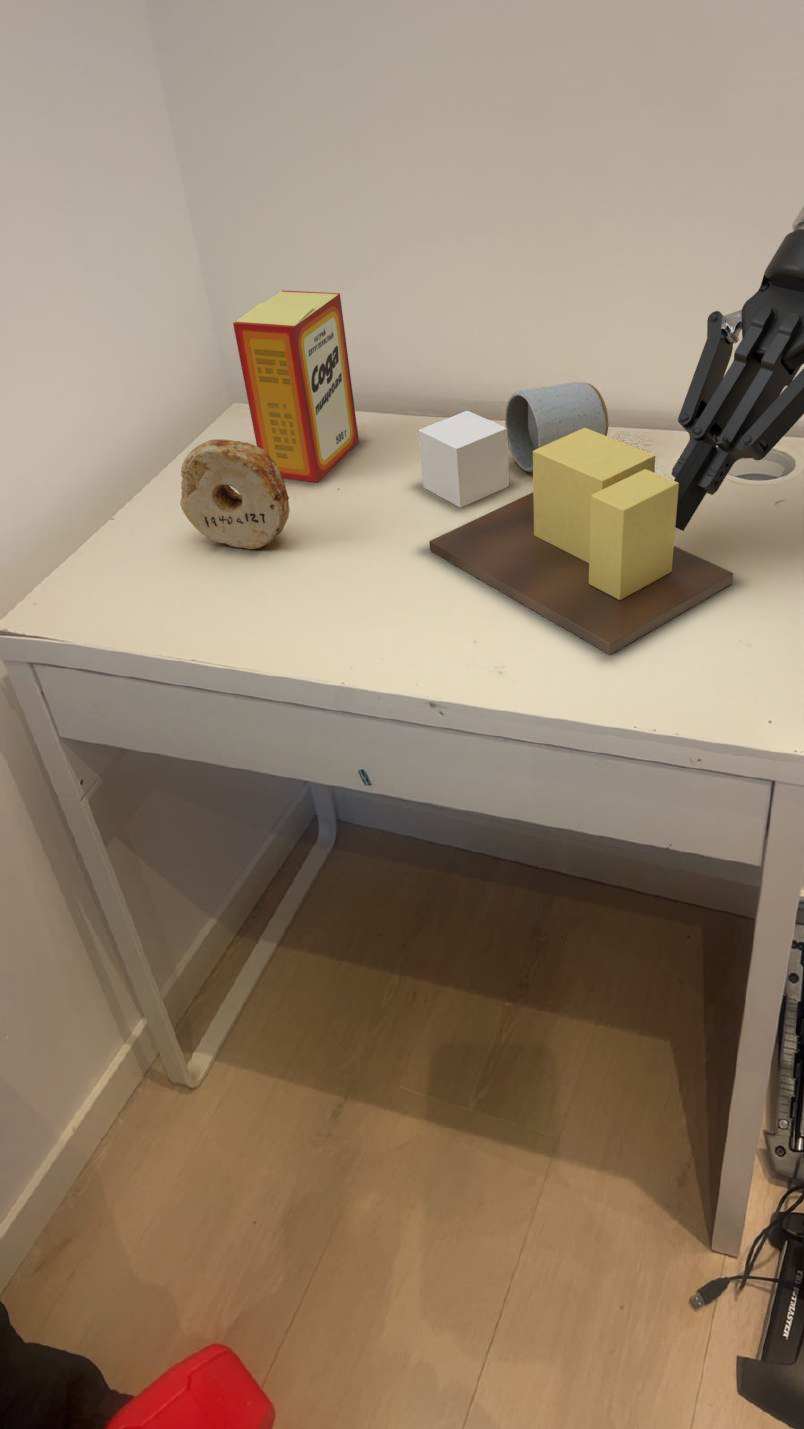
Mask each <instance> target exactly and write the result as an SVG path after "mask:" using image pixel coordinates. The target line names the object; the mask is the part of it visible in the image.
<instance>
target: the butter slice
mask: <svg viewBox="0 0 804 1429" xmlns="http://www.w3.org/2000/svg"><path fill="white" fill-rule="evenodd" d="M678 488H679V483H678V482H676V481H674V480H673V479H671V478H669V477H666V476H663V475H662V474H659V473H656V472H655V471H654V472H651V471H649V470H647V469H644V470H642V471H640V472H638V473H636V474H634V475H632V476H630V477H627V478H625V479H623V480H621V481H619V482H617V483H615V484H613V485H611V486H609V487H607V488H605V489H603V490H601V491H599V492H597V493H595V494H592V495H591V507H590V549H589V584H590V585H592V586H594V587H596V588H597V589H599V590H601V591H603V592H605V593H607V594H609V595H611V596H613V597H614V598H616V599H618V600H621V599H623V598H625V597H627V596H629V595H631V594H632V593H634V592H636V591H638V590H640V589H641V588H643V587H645V586H647V585H649V584H650V583H652V582H654V581H656V580H658V579H659V578H661V577H663V576H665V575H667V574H668V573H670V572H671V571H672V561H673V549H674V546H675V537H676V536H675V534H676V528H675V524H676V512H677V500H678Z"/></svg>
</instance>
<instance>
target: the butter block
mask: <svg viewBox="0 0 804 1429" xmlns="http://www.w3.org/2000/svg"><path fill="white" fill-rule="evenodd" d="M644 469H647V470H649V471H651V472H654V473H655V470H656V455H655V454H653V453H651V452H648V451H646V450H643V449H641V448H639V447H635V446H633V445H630V444H628V443H625V442H623V441H620V440H617V439H615V438H612V437H610V436H608V435H607V436H605V435H602V434H600V433H597V432H595V431H592V430H590V429H587V428H583V429H580V430H578V431H576V432H574V433H571V434H569V435H567V436H565V437H562V438H560V439H558V440H556V441H554V442H551V443H549V444H547V445H545V446H542V447H540V448H538V449H536V450H534V451H533V471H532V479H533V480H532V481H533V482H532V485H533V488H532V489H533V490H532V491H533V496H534V536H536V537H538V538H540V539H542V540H544V541H546V542H548V543H550V544H552V545H554V546H556V547H558V548H560V549H562V550H564V551H566V552H568V553H570V554H572V555H574V556H576V557H578V558H580V559H582V560H584V561H585V562H587V563H589V549H590V507H591V495H592V494H595V493H597V492H599V491H601V490H603V489H605V488H607V487H609V486H611V485H613V484H615V483H617V482H619V481H621V480H623V479H625V478H627V477H630V476H632V475H634V474H636V473H638V472H640V471H642V470H644Z"/></svg>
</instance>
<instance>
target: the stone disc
mask: <svg viewBox="0 0 804 1429" xmlns="http://www.w3.org/2000/svg"><path fill="white" fill-rule="evenodd" d="M180 468H181V469H180V476H181V478H182V479H181V483H180V484H181V487H180V489H181V492H180V493H181V498H180V502H179V504H180V508H181V510H182V512H183V514H184V515H185V517H186V518H187V520H188V521H189V522H190V524H191V525H192V526H193V527H194V528H195V529H196V530H197V531H198V532H199V533H200V534H202V535H203V536H204V537H205V538H207V539H209V540H210V541H213V542H215V543H219V544H224V545H227V546H230V547H233V548H237V549H241V548H243V549H247V550H256V549H260V548H262V547H265V546H266V545H269V544H271V542H273V541H274V540H275V539H276V538H277V537H278V536H279V535H280V534H281V532H282V531H283V529H284V527H285V525H286V524H287V522H288V519H289V517H290V511H291V510H290V501H289V499H290V496H289V495H288V490H287V488H286V482H285V480H284V478H283V476H282V474H281V471H280V470H278V469H277V466H276V463H275V462H274V461H273V460H272V459H271V458H270V456H269V455H268V453H267V452H265V451H264V450H263V449H261V448H259V447H257V445H255V444H253V443H249V442H243V441H240V440H232V439H221V438H217V439H216V438H215V439H210V440H207V441H204V442H202V443H200V444H199V445H197V446H196V447H195V448H193V449H192V450H191V451H190V452H189V453H188V454H187V455H186V457H185V458H184V460H183V462H182V465H181V467H180ZM236 491H237V492H236Z"/></svg>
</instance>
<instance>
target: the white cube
mask: <svg viewBox="0 0 804 1429" xmlns="http://www.w3.org/2000/svg"><path fill="white" fill-rule="evenodd" d="M417 436H418V444H419V456H420V467H421V468H420V469H421V478H422V488H423V489H425V490H427V491H429V492H431V493H433V494H435V495H436V496H438V497H440V498H441V499H443V500H445V501H447V502H449V503H451V504H453V505H455V506H456V507H458V508H460V509H461V508H463V507H465V506H468V505H470V504H473V503H474V502H478V501H479V500H481V499H485V498H486V497H488V496H491V495H493V494H496V493H498V492H500V491H502V490H504V489H507V488H509V487H510V478H509V476H510V475H509V472H510V471H509V444H508V440H507V428H506V426H503V425H500V424H499V423H496V422H494V421H492V420H489V419H487V418H485V417H483V416H481V415H479V414H476V413H474V412H472V411H469V410H465V411H462V412H460V413H458V414H455V415H452V416H450V417H447V418H445V419H443V420H440V421H437V422H434V423H432V424H429V425H427V426H425V427H422V428H420V429H417Z"/></svg>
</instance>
